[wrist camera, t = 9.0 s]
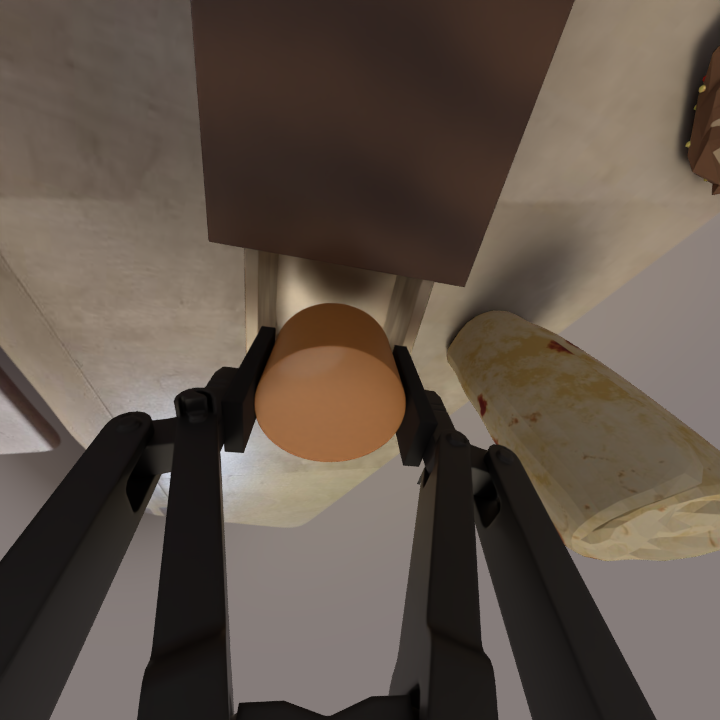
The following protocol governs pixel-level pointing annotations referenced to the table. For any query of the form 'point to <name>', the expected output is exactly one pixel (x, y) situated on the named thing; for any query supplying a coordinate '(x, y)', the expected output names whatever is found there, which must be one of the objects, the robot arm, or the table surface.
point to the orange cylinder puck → (330, 386)
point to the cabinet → (366, 124)
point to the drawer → (329, 294)
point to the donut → (707, 127)
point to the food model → (591, 443)
